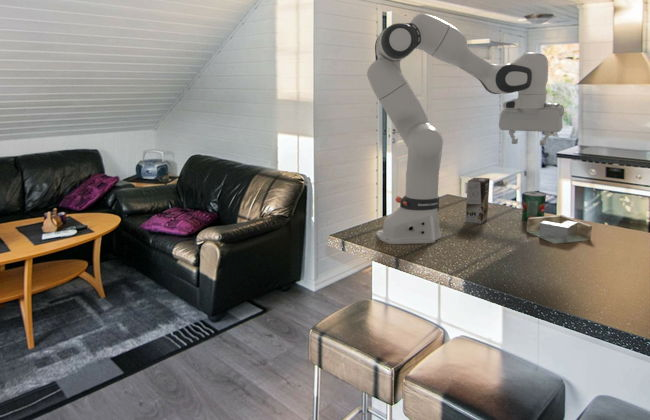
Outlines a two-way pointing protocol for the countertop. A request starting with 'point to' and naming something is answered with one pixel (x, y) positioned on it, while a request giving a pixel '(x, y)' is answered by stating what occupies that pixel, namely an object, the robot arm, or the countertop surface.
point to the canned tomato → (533, 205)
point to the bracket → (558, 230)
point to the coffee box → (477, 200)
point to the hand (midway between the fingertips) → (528, 144)
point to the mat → (559, 241)
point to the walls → (582, 228)
